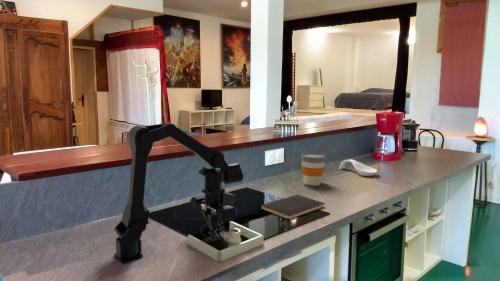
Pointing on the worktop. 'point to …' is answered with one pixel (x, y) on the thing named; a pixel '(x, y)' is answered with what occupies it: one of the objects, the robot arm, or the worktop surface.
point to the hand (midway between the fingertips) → (212, 230)
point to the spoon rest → (360, 168)
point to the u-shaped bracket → (224, 254)
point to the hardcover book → (292, 206)
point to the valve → (226, 234)
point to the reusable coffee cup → (312, 168)
